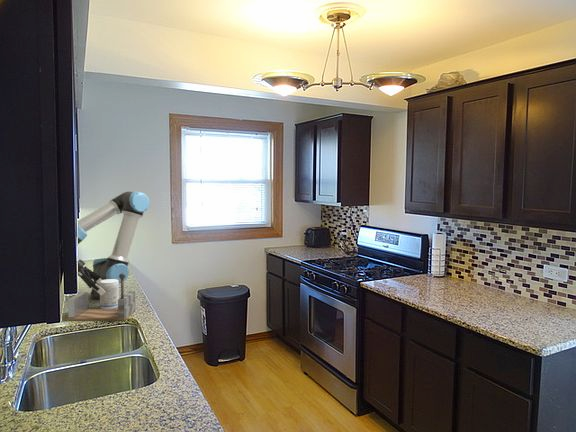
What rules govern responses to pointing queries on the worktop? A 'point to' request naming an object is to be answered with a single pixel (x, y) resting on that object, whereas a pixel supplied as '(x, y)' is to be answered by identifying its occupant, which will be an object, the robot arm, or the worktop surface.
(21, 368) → the worktop surface
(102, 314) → the vise bed
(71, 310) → the front jaw
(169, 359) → the worktop surface
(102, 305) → the supplement tub
